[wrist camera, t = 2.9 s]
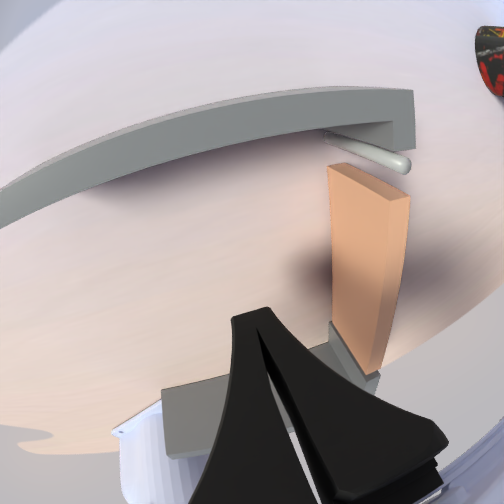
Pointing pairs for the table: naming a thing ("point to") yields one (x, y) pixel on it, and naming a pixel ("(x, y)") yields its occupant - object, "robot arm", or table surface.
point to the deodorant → (491, 57)
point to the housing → (211, 137)
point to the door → (365, 259)
